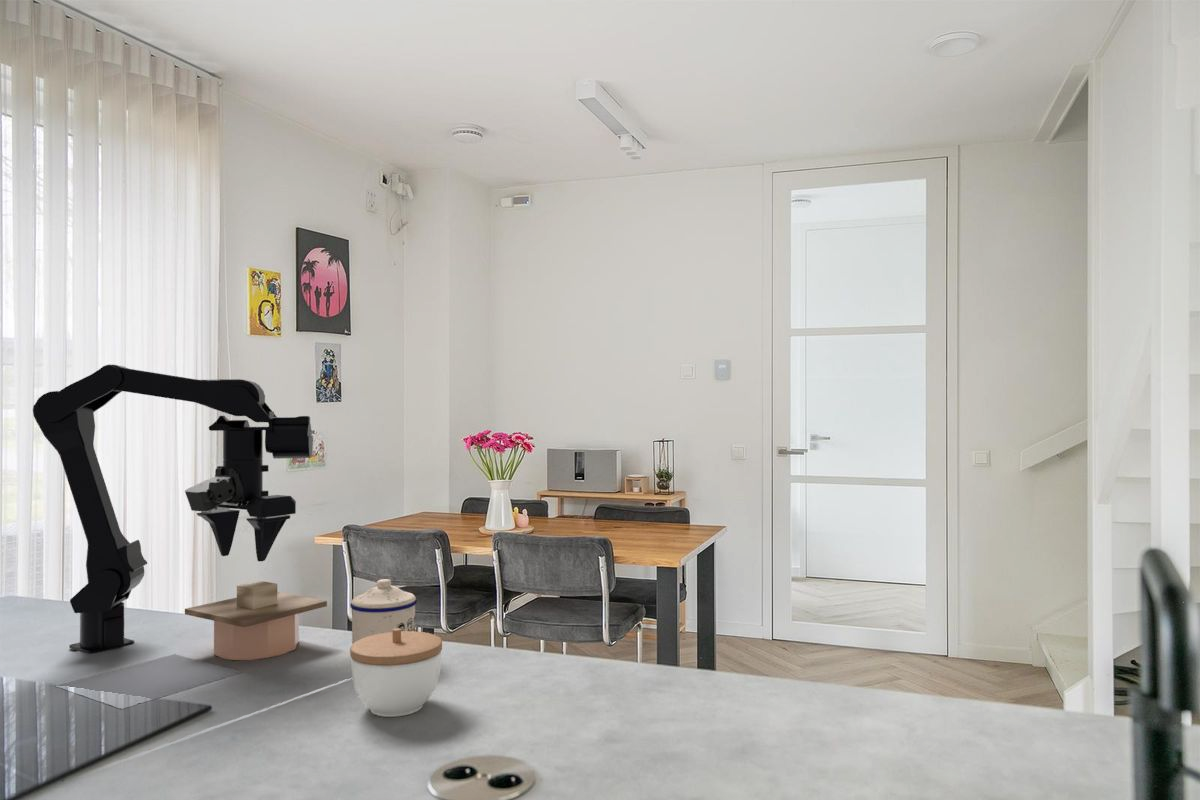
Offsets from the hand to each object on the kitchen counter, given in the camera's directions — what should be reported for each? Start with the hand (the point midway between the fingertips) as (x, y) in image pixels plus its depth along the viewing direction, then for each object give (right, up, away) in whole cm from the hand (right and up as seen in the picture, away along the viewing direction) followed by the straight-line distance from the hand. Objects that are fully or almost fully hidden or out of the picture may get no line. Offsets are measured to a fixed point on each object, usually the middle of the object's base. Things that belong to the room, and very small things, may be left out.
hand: (242, 558), depth 128 cm
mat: (-3, -12, -21) cm, 24 cm away
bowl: (+5, -12, -7) cm, 15 cm away
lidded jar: (+32, -12, -30) cm, 46 cm away
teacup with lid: (+26, -13, -11) cm, 31 cm away
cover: (+5, -6, -7) cm, 11 cm away
